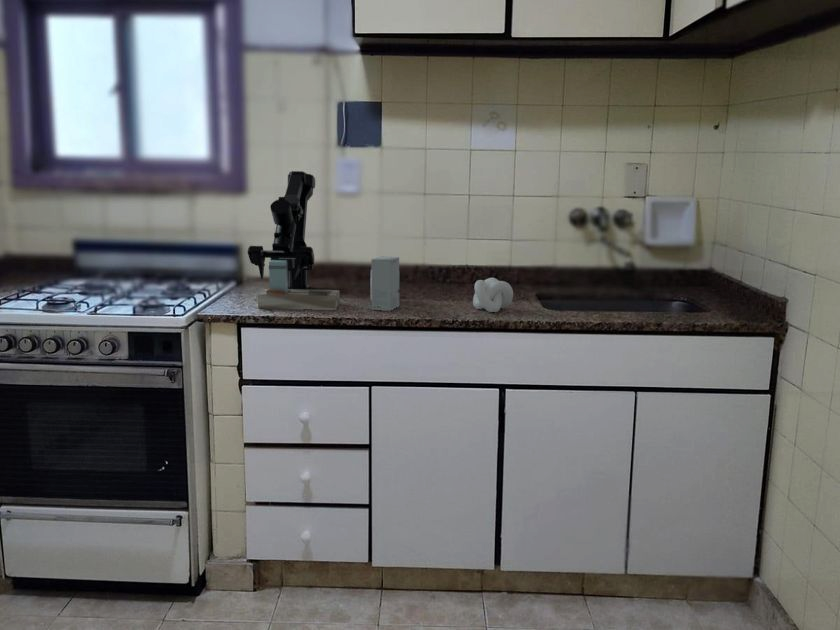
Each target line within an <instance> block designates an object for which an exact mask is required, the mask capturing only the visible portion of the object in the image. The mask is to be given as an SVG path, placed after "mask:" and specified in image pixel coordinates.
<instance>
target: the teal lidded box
mask: <svg viewBox="0 0 840 630" xmlns="http://www.w3.org/2000/svg"><path fill="white" fill-rule="evenodd" d="M287 267H288V263H287V260H271V259H270V261H268V277H269V289H270V290H285V294H288V286H289V285H288V284H289V279H288V271H287Z"/></svg>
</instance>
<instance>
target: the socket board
mask: <svg viewBox="0 0 840 630" xmlns="http://www.w3.org/2000/svg"><path fill="white" fill-rule="evenodd" d="M340 294H341V293H340V290H339V289H288V294H285V290H270V288H264V289H263V290H262V291H261V292H259V293H258V294H257V309H258V308H259V309H261V308H262V309H264V310H265V309H266V310H303V309H312V310H311V311H314V310H315V311H316V310H317V311H336V309H338V307H339V306H340V303H341V300H340V299H341V298H340V297H341V295H340Z"/></svg>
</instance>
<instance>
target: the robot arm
mask: <svg viewBox="0 0 840 630" xmlns="http://www.w3.org/2000/svg"><path fill="white" fill-rule="evenodd" d="M315 188H316V177H315V176H314V175H313V174H311V173H310V174H309V173H306V172H304V171H303V170H300V171H298V170H295V171H294V170H293V171H292V170H291V171H289V173H288V174H287V186H286V190H285V192H284V193H285V194H284V195H283V196H278V199H276V200H274V201H273V202H272V203H271V204H270V207H269V208H270V211H271V216H272V219H273V223H274V225H276V227H275V231H274V233H273V237H274V239H273V243H272V244H271V245H272V246H271V247H272V249H271V250H270V249H269V250H264V247H263V245H249V247H248V248H247V254H248V259H249V261H250V263H251V264H252V265H254V266H255V267H258V270H259V275H260V276H259V277H260V279H261V280H263V279H264V275H265V274H264V273H265V266H266V265H265V264H266V259H268V258H269V259H270V261H271V260H287V263H288V267H287V272H288V284H289V285H288V289H306V290H308V288H309V287H310V284H307V283H308V280H307V279H308V277H307V276H308V275H307V274H308V271H312V270H314V269H313V268H314V267H313V266H314V265H315V254H314V249H313V248H312V247H311V246H308V244H307V243H306V242H305V241H306V240H305V238H306V224H307V213H308V211H307V210H308V202H309V200H311V198H312V196H313V195H314V189H315Z"/></svg>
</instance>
